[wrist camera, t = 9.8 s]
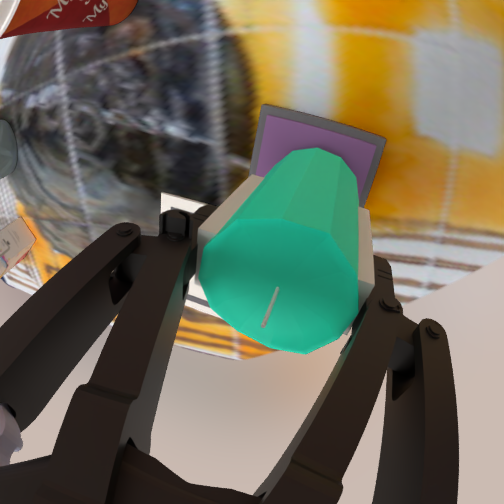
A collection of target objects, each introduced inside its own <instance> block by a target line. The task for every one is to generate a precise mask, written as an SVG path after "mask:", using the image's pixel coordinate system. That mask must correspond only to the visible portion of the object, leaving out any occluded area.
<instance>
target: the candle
mask: <svg viewBox="0 0 504 504" xmlns="http://www.w3.org/2000/svg"><path fill="white" fill-rule="evenodd" d="M358 206H359V198H358V188H357V180H356V176H355V175H354V174H353V172H352V171H351V170H350V168H349V167H348V166H347V164H346V163H345V162H344V161H343V159H342V158H341V157H339V156H336V155H334V154H332V153H329V152H327V151H325V150H322V149H320V148H310V149H302V150H294V151H292V152H291V153H289V154H288V155H287V156H286V157H284V158H283V159H282V160H281V161H279V162H278V163H277V164H276V165H275V166H274V167H273V168H272V169H271V170H270V171H269V172H268V173H267V175H266V176H265V177H264V179H263V180H262V182H261V183H260V184H259V185H258V186H257V187H256V189H255V190H254V191H253V192H252V193H251V194H250V195H249V197H248V198H247V199H246V200H245V201H244V202H243V204H242V205H241V206H240V207H239V208H238V209H237V211H236V212H235V213H234V214H233V215H232V217H231V218H230V219H229V220H228V221H227V222H226V224H225V225H224V226H223V227H222V228H221V230H220V231H219V232H218V233H217V234H216V235H215V236H214V237H213V238H211V239H210V241H209V242H208V243H207V244H206V245H205V246H204V249H203V254H202V259H201V265H200V270H199V275H198V279H199V281H200V284H201V286H202V289H203V291H204V294H205V296H206V298H207V301H208V303H209V306H210V308H211V309H212V310H213V311H214V312H215V313H217V314H218V315H219V316H220V317H221V318H223V319H224V320H225V321H226V322H227V323H228V324H230V325H231V326H232V327H233V328H235V329H236V330H237V331H238V332H240V333H242V334H244V335H246V336H248V337H250V338H252V339H254V340H256V341H258V342H259V343H261V344H263V345H265V346H267V347H269V348H273V349H278V350H283V351H289V352H294V353H300V354H308V353H310V352H312V351H314V350H316V349H318V348H320V347H323V346H325V345H327V344H329V343H331V342H333V341H335V340H337V339H338V338H340V336H341V335H342V334H343V333H344V331H345V330H346V329H347V328H348V326H349V325H350V324H351V322H352V321H353V320H354V319H355V317H356V316H357V315H358V310H359V289H358V262H359V227H358Z"/></svg>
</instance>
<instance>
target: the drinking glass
mask: <svg viewBox="0 0 504 504" xmlns="http://www.w3.org/2000/svg"><path fill="white" fill-rule="evenodd" d="M16 164H17V144H16V139H15V136H14V133H13V130H12V128H11V126H10V125H9V123H8V122H7V121H5V120H0V179H1V178H4V177H5V176H7V175H9V174H10V173H11V172H13V170H14V169H15V167H16Z"/></svg>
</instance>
